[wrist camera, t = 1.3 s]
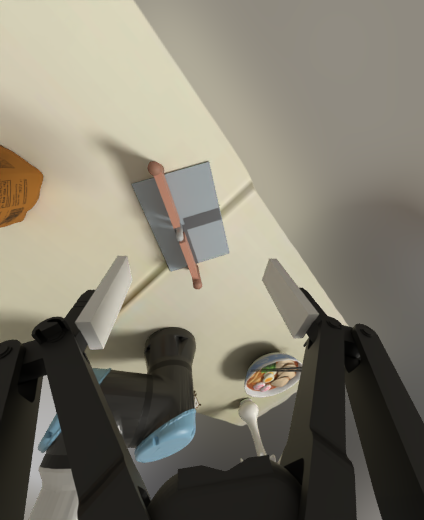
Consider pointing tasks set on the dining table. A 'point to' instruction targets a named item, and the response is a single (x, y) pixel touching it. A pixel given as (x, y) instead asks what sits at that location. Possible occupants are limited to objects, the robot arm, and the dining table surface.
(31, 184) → the coffee package
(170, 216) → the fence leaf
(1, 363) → the robot arm
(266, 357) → the ramen bowl
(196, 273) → the panel
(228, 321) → the dining table surface
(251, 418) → the flower vase
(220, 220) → the card
